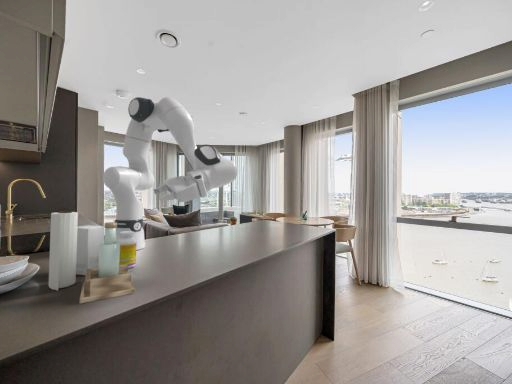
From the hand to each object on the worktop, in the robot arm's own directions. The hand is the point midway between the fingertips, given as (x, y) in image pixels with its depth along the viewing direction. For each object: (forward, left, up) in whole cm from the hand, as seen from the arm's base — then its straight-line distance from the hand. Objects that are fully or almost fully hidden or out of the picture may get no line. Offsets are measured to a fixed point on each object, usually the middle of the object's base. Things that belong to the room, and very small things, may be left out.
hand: (156, 195), depth 76 cm
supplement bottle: (-17, +2, -27) cm, 32 cm away
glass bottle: (-3, -13, -26) cm, 29 cm away
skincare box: (-23, -8, -27) cm, 36 cm away
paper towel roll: (-17, -18, -27) cm, 37 cm away
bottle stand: (-3, -13, -27) cm, 30 cm away
